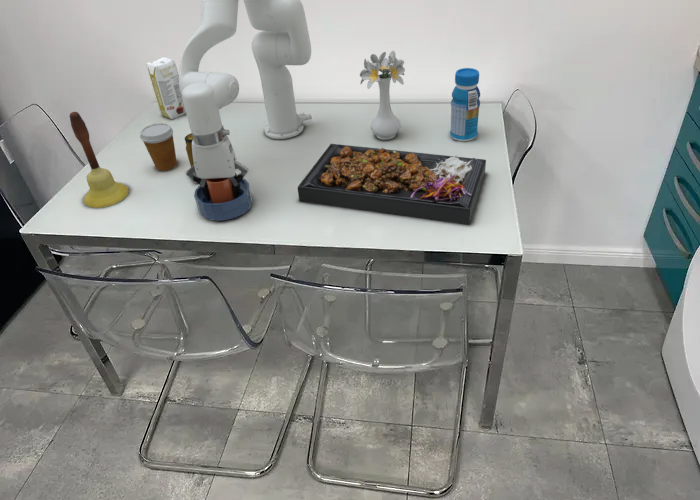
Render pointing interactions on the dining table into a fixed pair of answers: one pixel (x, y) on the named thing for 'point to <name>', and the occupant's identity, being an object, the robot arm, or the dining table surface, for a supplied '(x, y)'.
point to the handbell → (97, 172)
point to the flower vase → (384, 92)
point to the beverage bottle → (465, 105)
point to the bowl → (224, 204)
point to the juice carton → (166, 87)
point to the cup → (220, 190)
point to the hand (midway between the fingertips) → (223, 196)
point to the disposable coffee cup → (160, 145)
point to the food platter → (395, 182)
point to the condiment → (189, 149)
